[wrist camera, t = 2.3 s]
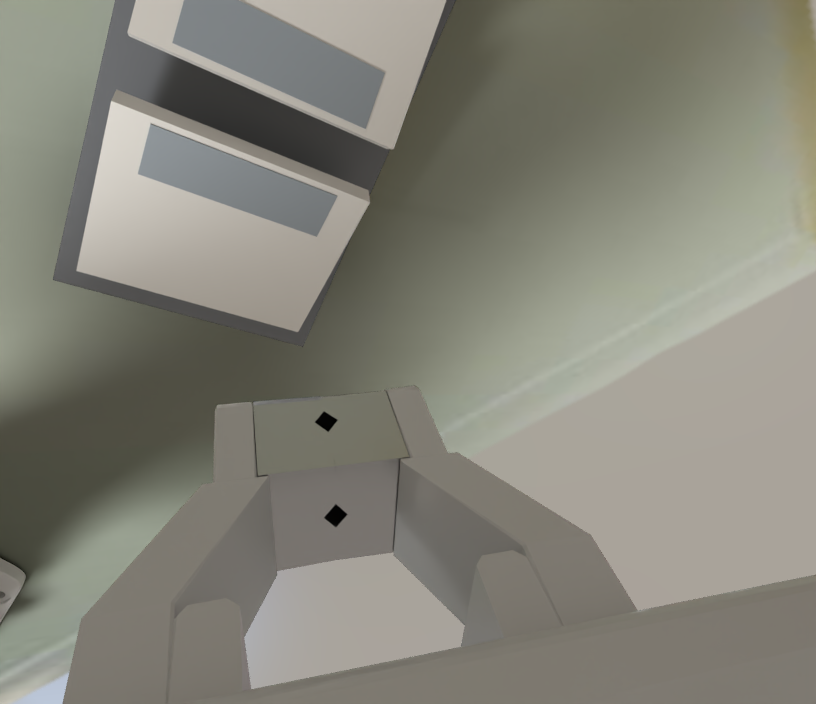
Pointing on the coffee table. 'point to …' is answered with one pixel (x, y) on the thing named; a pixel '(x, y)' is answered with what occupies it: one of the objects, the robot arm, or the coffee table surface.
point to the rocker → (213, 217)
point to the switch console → (220, 109)
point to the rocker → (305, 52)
